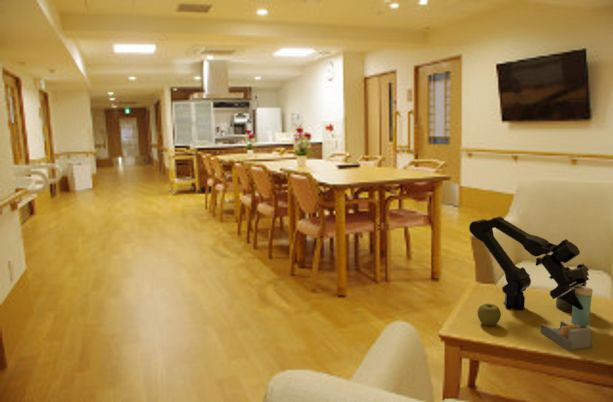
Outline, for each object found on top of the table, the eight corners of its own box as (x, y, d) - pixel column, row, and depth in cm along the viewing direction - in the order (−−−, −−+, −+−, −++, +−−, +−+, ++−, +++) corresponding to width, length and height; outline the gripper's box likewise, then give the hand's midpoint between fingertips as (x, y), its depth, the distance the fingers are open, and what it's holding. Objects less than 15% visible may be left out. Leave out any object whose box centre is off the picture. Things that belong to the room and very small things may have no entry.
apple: (497, 330, 173) (498, 311, 172) (474, 325, 177) (475, 307, 176) (502, 322, 179) (503, 304, 178) (479, 318, 183) (480, 300, 182)
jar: (573, 326, 171) (576, 291, 169) (568, 319, 177) (571, 285, 174) (591, 327, 170) (595, 292, 168) (586, 320, 176) (589, 286, 173)
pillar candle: (581, 314, 184) (585, 276, 181) (553, 309, 190) (556, 272, 187) (585, 306, 191) (588, 270, 189) (558, 301, 197) (561, 265, 195)
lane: (540, 331, 171) (541, 314, 170) (561, 329, 173) (563, 311, 171) (568, 350, 157) (570, 331, 156) (592, 347, 159) (593, 329, 158)
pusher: (560, 340, 163) (561, 326, 162) (576, 338, 164) (578, 324, 163) (562, 341, 162) (563, 327, 161) (579, 339, 163) (580, 325, 162)
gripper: (561, 263, 166) (593, 303, 160) (585, 252, 178) (616, 289, 171) (537, 279, 174) (566, 318, 168) (561, 268, 185) (590, 304, 179)
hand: (585, 307), depth 171 cm, fingers closed on jar, 5 cm apart
